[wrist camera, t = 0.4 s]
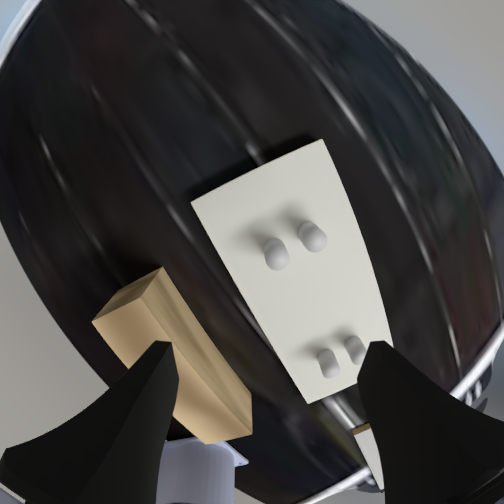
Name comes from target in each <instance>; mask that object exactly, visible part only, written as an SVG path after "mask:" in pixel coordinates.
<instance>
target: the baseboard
mask: <svg viewBox="0 0 504 504" xmlns="http://www.w3.org/2000/svg"><path fill="white" fill-rule="evenodd" d="M352 432H353V435H354V437H355V439H356V441H357V443H358V445H359V447H360V449H361V451H362V453H363V455H364V457H365V459H366V461H367V463H368V465H369V467H370V470H371V472H372V474H373V476H374V478H375V480H376V482H377V484H378V486H379V488H380V490H381V489H384V482H383V474H382V468H381V462H380V457H379V452H378V448H377V445H376V442H375V439H374V436H373V433H372V430H371V427H370V424H369V423H368V424H365V425H363V426H361V427H359V428H356V429H354V430H352ZM383 492H384V491H383ZM383 492H381V493H383Z"/></svg>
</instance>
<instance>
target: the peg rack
mask: <svg viewBox="0 0 504 504" xmlns="http://www.w3.org/2000/svg"><path fill="white" fill-rule="evenodd" d="M191 204H192V206H193V208H194V210H195V212H196V214H197V215H198V217H199V219H200V221H201V223H202V225H203V226H204V228H205V230H206V232H207V234H208V235H209V237H210V239H211V241H212V243H213V244H214V246H215V248H216V250H217V252H218V253H219V255H220V257H221V259H222V261H223V262H224V264H225V266H226V268H227V269H228V271H229V273H230V275H231V276H232V278H233V280H234V282H235V283H236V285H237V287H238V289H239V290H240V292H241V294H242V296H243V297H244V299H245V301H246V303H247V304H248V306H249V308H250V309H251V311H252V313H253V314H254V316H255V318H256V320H257V321H258V323H259V325H260V326H261V328H262V330H263V331H264V333H265V335H266V336H267V338H268V340H269V341H270V343H271V345H272V346H273V348H274V350H275V351H276V353H277V355H278V356H279V358H280V360H281V361H282V363H283V365H284V366H285V368H286V370H287V371H288V373H289V374H290V376H291V378H292V379H293V381H294V383H295V384H296V386H297V387H298V389H299V391H300V392H301V394H302V395H303V397H304V399H305V400H306V402H307V403H308V404H309V403H311V402H314V401H316V400H319V399H321V398H324V397H326V396H329V395H331V394H333V393H336V392H338V391H340V390H342V389H345V388H347V387H349V386H351V385H353V384H355V383H357V376H358V373H359V371H360V368H361V366H362V363H363V360H364V358H365V355H366V352H367V349H368V347H369V344H370V342H371V341H381V340H385V341H386V342H387V343H388V344H390V345H391V346H392V347H393V343H392V339H391V335H390V330H389V326H388V322H387V318H386V314H385V310H384V306H383V303H382V299H381V295H380V292H379V288H378V285H377V281H376V278H375V275H374V272H373V268H372V265H371V262H370V259H369V256H368V253H367V250H366V247H365V244H364V241H363V238H362V235H361V232H360V229H359V227H358V224H357V221H356V218H355V216H354V213H353V210H352V208H351V205H350V202H349V200H348V197H347V195H346V192H345V190H344V187H343V185H342V183H341V180H340V178H339V175H338V173H337V171H336V168H335V166H334V164H333V162H332V159H331V157H330V155H329V153H328V151H327V148H326V146H325V144H324V142H323V140H322V139H321V140H317V141H315V142H313V143H310V144H308V145H306V146H304V147H301V148H299V149H297V150H294V151H292V152H290V153H288V154H286V155H283V156H281V157H279V158H277V159H275V160H273V161H270V162H268V163H266V164H264V165H262V166H260V167H258V168H256V169H254V170H252V171H250V172H248V173H245V174H243V175H241V176H239V177H237V178H235V179H233V180H231V181H230V182H228V183H226V184H224V185H222V186H220V187H218V188H216V189H214V190H212V191H210V192H208V193H206V194H205V195H203V196H201V197H199V198H197V199H195V200H193V201H192V202H191Z"/></svg>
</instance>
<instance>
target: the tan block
mask: <svg viewBox="0 0 504 504" xmlns="http://www.w3.org/2000/svg"><path fill="white" fill-rule="evenodd" d="M92 323H93V325H94V326H95V327H96V329H97V330H98V332H99V333H100V334H101V336H102V337H103V338H104V339H105V341H106V342H107V343H108V345H109V346H110V347H111V348H112V350H113V351H114V352H115V353H116V355H117V356H118V357H119V358H120V360H121V361H122V362H123V363H124V364H125V365H126V367H127V368H128V369H129V368H130V367H131V366H132V365H133V364H134V363H135V362H136V361H137V360H138V359H139V357H140V356H141V355H142V354H143V353H144V352H145V351H146V350H147V349H148V347H149V346H150V345H151V344H152V343H153V342H154V341H155V340H159V341H169V342H172V346H173V351H174V356H175V361H176V366H177V371H178V375H179V386H178V392H177V399H176V404H175V408H174V411H173V416H174V417H175V418H176V419H177V420H178V421H179V422H180V423H181V424H183V425H184V426H185V427H186V428H187V429H188V430H189V431H190V432H191V433H193V434H194V435H195V436H196V437H197V438H198V439H200V440H201V441H202V442H203V443H204V444H206V445H207V444H212V443H217V442H221V441H226V440H230V439H235V438H239V437H243V436H247V435H251V434H252V408H251V393H250V392H249V390H248V389H247V388H246V387H245V385H244V384H243V383H242V382H241V380H240V379H239V378H238V376H237V375H236V374H235V372H234V371H233V370H232V368H231V367H230V366H229V364H228V363H227V362H226V360H225V359H224V358H223V356H222V355H221V353H220V352H219V351H218V349H217V348H216V347H215V345H214V344H213V342H212V341H211V340H210V338H209V337H208V335H207V334H206V332H205V331H204V330H203V328H202V327H201V325H200V324H199V322H198V321H197V319H196V318H195V316H194V315H193V313H192V312H191V310H190V309H189V307H188V306H187V304H186V303H185V301H184V300H183V298H182V297H181V295H180V294H179V292H178V290H177V289H176V287H175V286H174V284H173V283H172V281H171V279H170V278H169V276H168V275H167V273H166V271H165V270H164V268H163V267H161V268H159V269H157V270H155V271H153V272H152V273H150V274H148V275H146V276H144V277H142V278H140V279H138V280H136V281H135V282H133V283H131V284H129V285H127V286H125V287H123V288H122V289H120V290H118V291H117V293H116V294H115V295H114V296H113V297H112V298H111V299H110V301H109V302H108V303H107V304H106V305H105V306H104V308H103V309H102V310H101V311H100V312H99V313H98V315H97V316H96V317H95V318H94V319H93V321H92Z"/></svg>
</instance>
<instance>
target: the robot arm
mask: <svg viewBox="0 0 504 504" xmlns="http://www.w3.org/2000/svg"><path fill="white" fill-rule="evenodd" d="M357 383H358V388H359V393H360V397H361V401H362V404H363V407H364V410H365V413H366V416H367V419H368V421H369V424H370V427H371V430H372V433H373V436H374V439H375V442H376V445H377V448H378V452H379V457H380V462H381V468H382V474H383V482H384V491H385V504H504V422H503V421H501V420H498V419H495V418H492V417H490V416H488V415H486V414H483V413H481V412H479V411H477V410H475V409H473V408H471V407H470V406H468V405H466V404H464V403H463V402H461V401H460V400H458V399H456V398H455V397H453V396H452V395H450V394H449V393H447V392H446V391H445V390H443V389H442V388H441V387H439V386H438V385H437V384H435V383H434V382H433V381H431V380H430V379H429V378H428V377H427V376H425V375H424V374H423V373H422V372H421V371H419V370H418V369H417V368H416V367H415V366H414V365H412V364H411V363H410V362H409V361H408V360H407V359H406V358H405V357H403V356H402V355H401V354H400V353H399V352H398V351H397V350H395V349H394V348H393V347H392V346H391V345H390V344H388V343H387V342H386V341H385V340H381V341H371V342H370V344H369V347H368V349H367V352H366V355H365V358H364V360H363V363H362V366H361V368H360V371H359V373H358V376H357ZM178 386H179V375H178V371H177V366H176V361H175V356H174V351H173V346H172V342H169V341H159V340H155V341H154V342H153V343H152V344H151V345H150V346H149V347H148V349H147V350H146V351H145V352H144V353H143V354H142V355H141V356H140V357H139V359H138V360H137V361H136V362H135V363H134V364H133V365H132V366H131V367H130V368H129V369H128V370H127V371H126V372H125V373H124V374H123V375H122V377H121V378H120V379H119V380H118V381H117V382H116V383H114V384H113V385H112V386H111V387H110V388H109V389H108V390H107V391H106V392H105V393H104V394H103V395H102V396H100V397H99V398H98V399H97V400H96V401H95V402H93V403H92V404H91V405H89V406H88V407H87V408H86V409H84V410H83V411H82V412H80V413H79V414H77V415H76V416H74V417H73V418H71V419H70V420H68V421H67V422H65V423H63V424H62V425H60V426H59V427H57V428H55V429H53V430H51V431H49V432H47V433H45V434H43V435H41V436H39V437H37V438H35V439H32V440H30V441H27V442H25V443H22V444H19V445H16V446H13V447H10V448H6V450H5V452H4V453H3V456H2V458H1V460H0V483H2V484H3V485H4V486H6V487H7V488H8V489H10V490H11V491H13V492H14V493H16V494H17V495H19V496H20V497H22V498H23V499H25V500H26V501H25V504H234V467H235V466H240V465H245V464H248V460H247V459H246V458H245V457H243V456H242V455H241V454H240V453H238V452H237V451H236V450H235V449H234V448H233V447H231V446H230V445H229V444H228V443H227V442H226V441H221V442H217V443H212V444H207V445H206V444H204V443H203V442H202V441H201V440H200V439H198V438H197V437H191V438H186V439H180V440H174V441H167V442H165V440H166V436H167V433H168V429H169V426H170V422H171V419H172V415H173V411H174V408H175V404H176V399H177V392H178ZM0 504H24V503H22V502H20V501H19V500H17V499H16V498H14V497H13V496H11V495H10V494H9V493H7V492H6V491H4V490H3V489H1V488H0Z"/></svg>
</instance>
